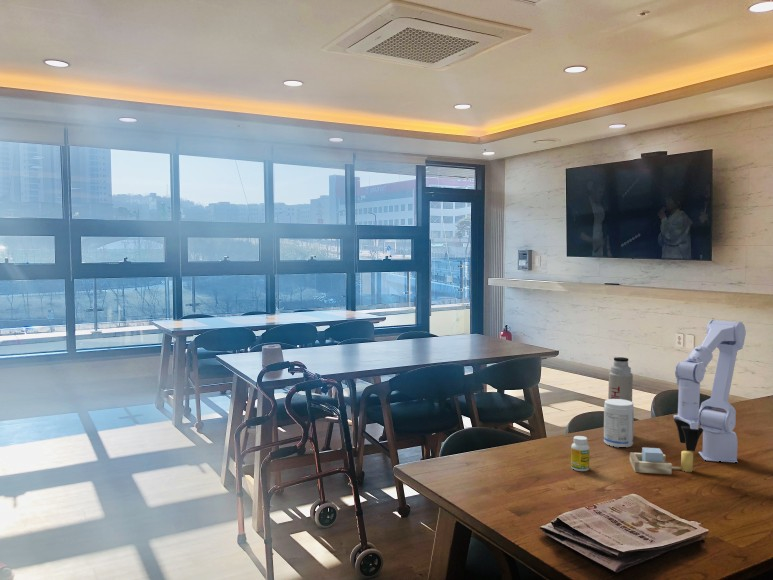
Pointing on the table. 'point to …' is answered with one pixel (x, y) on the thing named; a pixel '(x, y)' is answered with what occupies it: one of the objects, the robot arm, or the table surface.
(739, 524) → the table surface
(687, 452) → the corded block
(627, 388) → the thermos bottle
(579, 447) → the supplement bottle
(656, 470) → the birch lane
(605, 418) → the supplement tub
